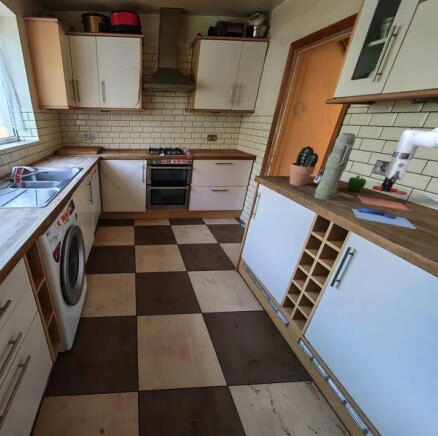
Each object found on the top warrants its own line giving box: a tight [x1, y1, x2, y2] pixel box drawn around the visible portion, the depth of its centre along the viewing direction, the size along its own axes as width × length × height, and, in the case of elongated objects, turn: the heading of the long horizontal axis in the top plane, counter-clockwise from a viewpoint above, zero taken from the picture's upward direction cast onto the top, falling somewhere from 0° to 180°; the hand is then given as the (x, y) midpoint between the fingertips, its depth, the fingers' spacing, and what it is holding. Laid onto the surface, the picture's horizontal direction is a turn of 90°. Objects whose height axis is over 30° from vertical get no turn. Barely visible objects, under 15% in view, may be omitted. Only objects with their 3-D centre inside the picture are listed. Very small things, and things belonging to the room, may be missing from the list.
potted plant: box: [289, 145, 319, 187], centre depth 149 cm, size 14×14×25 cm
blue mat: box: [351, 208, 417, 230], centre depth 106 cm, size 20×13×1 cm, turn 59°
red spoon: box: [372, 185, 408, 196], centre depth 121 cm, size 14×4×2 cm, turn 59°
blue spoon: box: [357, 206, 397, 219], centre depth 109 cm, size 14×4×2 cm, turn 59°
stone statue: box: [314, 132, 356, 201], centre depth 122 cm, size 9×12×35 cm
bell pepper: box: [347, 175, 367, 192], centre depth 143 cm, size 8×8×10 cm
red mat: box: [357, 195, 414, 212], centre depth 124 cm, size 20×13×1 cm, turn 59°
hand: (384, 190), depth 122 cm, fingers closed on red spoon, 2 cm apart
